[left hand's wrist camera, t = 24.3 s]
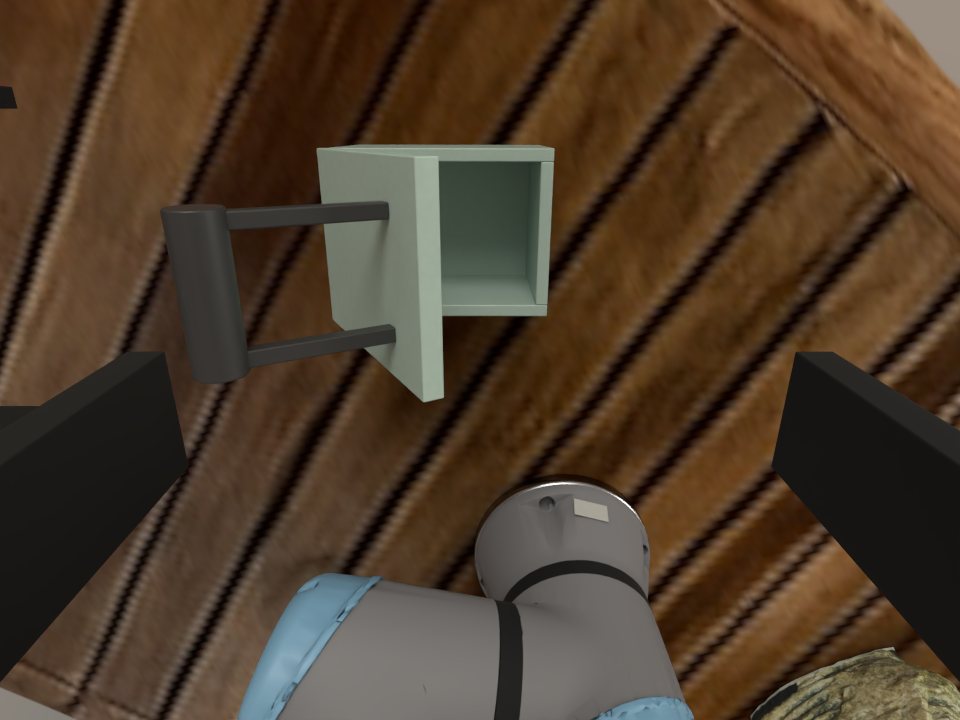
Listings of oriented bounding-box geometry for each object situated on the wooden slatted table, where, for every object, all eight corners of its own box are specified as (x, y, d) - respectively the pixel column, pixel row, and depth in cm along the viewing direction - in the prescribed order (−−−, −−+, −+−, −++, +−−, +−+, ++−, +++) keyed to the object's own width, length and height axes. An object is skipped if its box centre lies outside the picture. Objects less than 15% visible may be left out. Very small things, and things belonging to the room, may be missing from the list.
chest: (539, 145, 40) (554, 148, 32) (534, 282, 43) (546, 316, 35) (358, 144, 40) (327, 147, 32) (368, 281, 43) (342, 316, 35)
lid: (438, 155, 21) (153, 161, 17) (444, 398, 24) (209, 452, 20) (334, 147, 31) (143, 149, 27) (348, 317, 35) (181, 342, 31)
